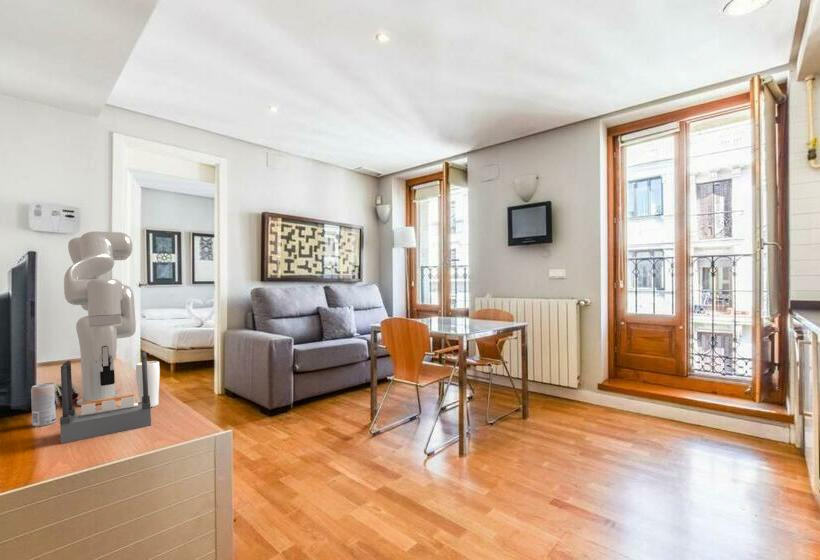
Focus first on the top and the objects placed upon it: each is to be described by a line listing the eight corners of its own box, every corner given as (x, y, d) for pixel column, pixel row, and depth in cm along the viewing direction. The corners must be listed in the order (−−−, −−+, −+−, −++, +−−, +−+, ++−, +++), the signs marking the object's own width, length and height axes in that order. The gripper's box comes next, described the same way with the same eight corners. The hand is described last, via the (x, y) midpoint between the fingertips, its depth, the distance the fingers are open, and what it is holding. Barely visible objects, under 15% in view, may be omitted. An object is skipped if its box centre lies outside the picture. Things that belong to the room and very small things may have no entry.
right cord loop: (142, 401, 123) (140, 351, 123) (149, 400, 124) (147, 351, 124) (142, 410, 115) (140, 356, 115) (150, 408, 116) (148, 355, 116)
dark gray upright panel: (66, 414, 113) (64, 360, 113) (75, 413, 114) (73, 359, 114) (60, 425, 104) (57, 366, 104) (70, 423, 106) (67, 365, 106)
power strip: (66, 432, 113) (66, 415, 113) (150, 416, 124) (149, 400, 124) (61, 443, 105) (60, 425, 105) (151, 425, 116) (150, 408, 116)
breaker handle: (77, 416, 111) (77, 402, 111) (138, 405, 119) (137, 393, 119) (77, 417, 110) (76, 404, 110) (138, 406, 118) (137, 394, 118)
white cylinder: (135, 411, 130) (133, 365, 130) (140, 405, 137) (138, 362, 137) (159, 407, 133) (157, 363, 133) (162, 402, 139) (161, 360, 139)
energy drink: (53, 419, 125) (51, 382, 125) (58, 422, 122) (56, 384, 122) (30, 425, 121) (28, 386, 121) (34, 428, 117) (33, 388, 117)
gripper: (91, 321, 118) (93, 382, 118) (85, 324, 106) (88, 392, 106) (122, 318, 123) (124, 377, 122) (120, 321, 110) (122, 387, 110)
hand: (107, 384), depth 114 cm, fingers closed
